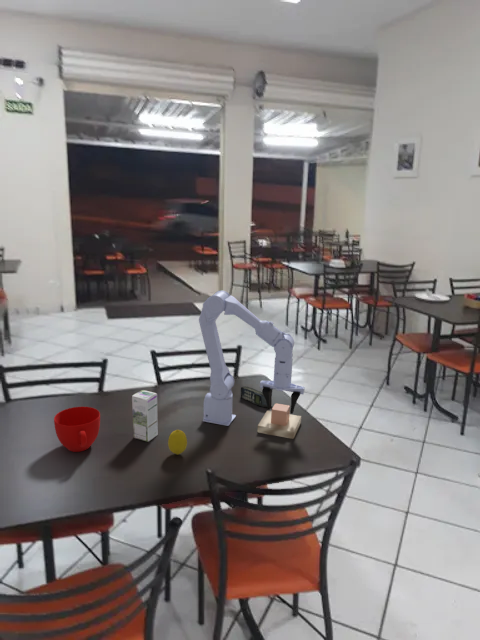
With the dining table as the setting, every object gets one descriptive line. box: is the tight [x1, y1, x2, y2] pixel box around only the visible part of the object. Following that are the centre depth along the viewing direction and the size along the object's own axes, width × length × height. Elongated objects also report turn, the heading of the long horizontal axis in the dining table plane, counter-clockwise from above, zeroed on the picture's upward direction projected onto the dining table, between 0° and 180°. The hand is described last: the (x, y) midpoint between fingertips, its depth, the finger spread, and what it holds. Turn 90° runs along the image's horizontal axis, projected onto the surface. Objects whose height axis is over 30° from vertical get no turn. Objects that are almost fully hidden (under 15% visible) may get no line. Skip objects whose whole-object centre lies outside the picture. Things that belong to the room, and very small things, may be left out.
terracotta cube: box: [271, 403, 291, 426], centre depth 157 cm, size 5×5×5 cm
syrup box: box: [131, 389, 159, 443], centre depth 148 cm, size 6×6×14 cm
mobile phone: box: [240, 386, 273, 409], centre depth 177 cm, size 5×3×15 cm
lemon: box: [167, 429, 188, 455], centre depth 139 cm, size 6×6×8 cm
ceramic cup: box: [53, 406, 101, 453], centre depth 140 cm, size 13×17×10 cm
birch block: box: [257, 410, 302, 440], centre depth 159 cm, size 12×12×3 cm
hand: (280, 410), depth 157 cm, fingers open, 7 cm apart
